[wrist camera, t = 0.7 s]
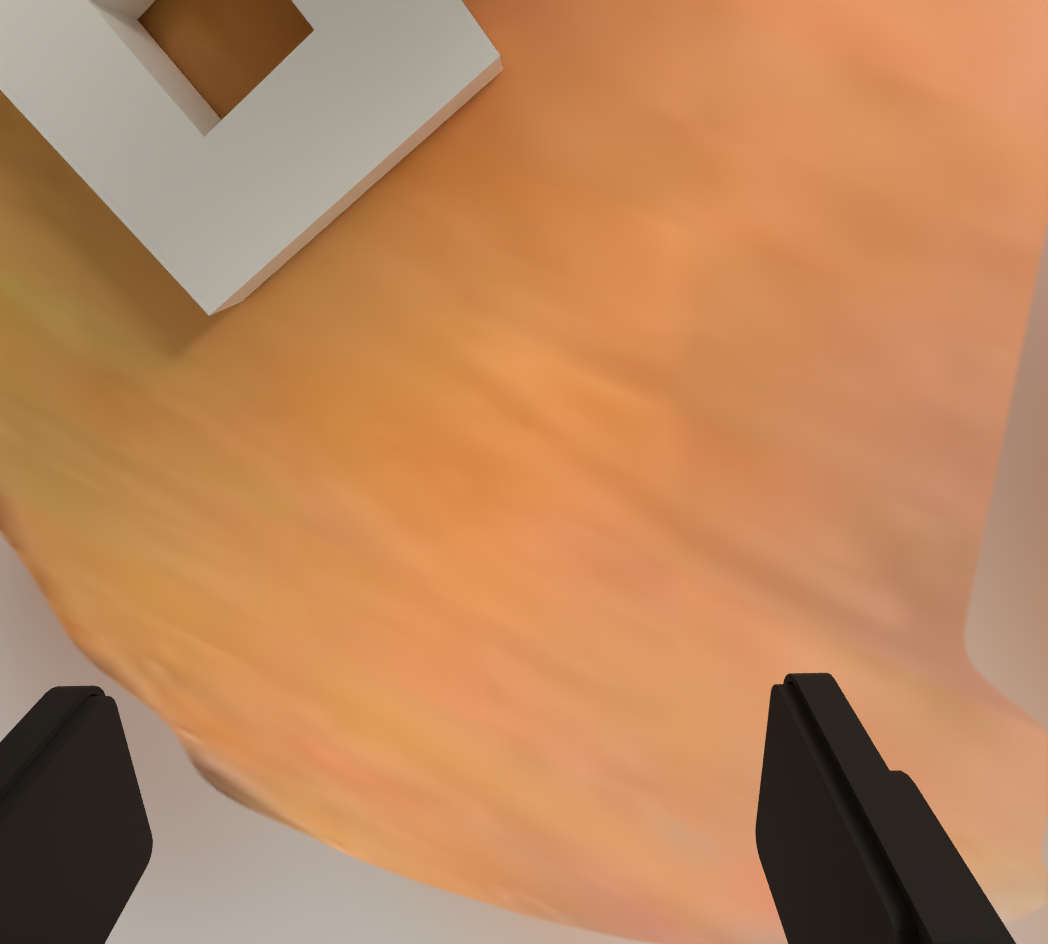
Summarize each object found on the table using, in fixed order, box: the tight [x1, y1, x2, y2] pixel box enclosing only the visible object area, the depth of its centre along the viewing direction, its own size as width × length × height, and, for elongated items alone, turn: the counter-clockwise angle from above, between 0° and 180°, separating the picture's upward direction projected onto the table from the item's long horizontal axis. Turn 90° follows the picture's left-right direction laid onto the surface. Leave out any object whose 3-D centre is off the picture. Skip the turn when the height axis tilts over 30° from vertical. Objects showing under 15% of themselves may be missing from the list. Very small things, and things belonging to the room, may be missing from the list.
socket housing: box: [0, 0, 503, 316], centre depth 30 cm, size 16×16×4 cm
